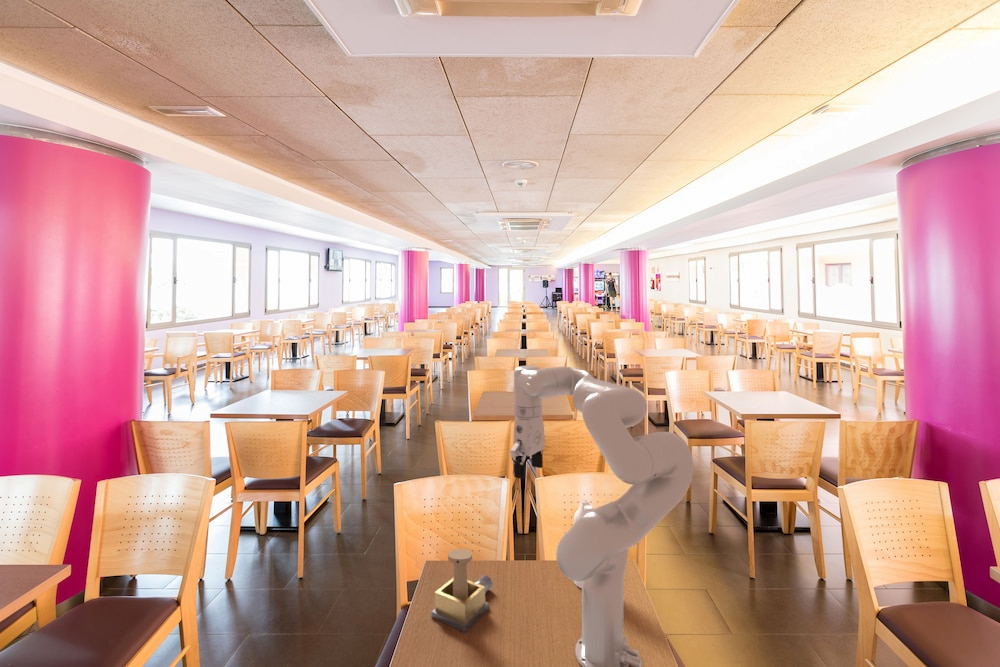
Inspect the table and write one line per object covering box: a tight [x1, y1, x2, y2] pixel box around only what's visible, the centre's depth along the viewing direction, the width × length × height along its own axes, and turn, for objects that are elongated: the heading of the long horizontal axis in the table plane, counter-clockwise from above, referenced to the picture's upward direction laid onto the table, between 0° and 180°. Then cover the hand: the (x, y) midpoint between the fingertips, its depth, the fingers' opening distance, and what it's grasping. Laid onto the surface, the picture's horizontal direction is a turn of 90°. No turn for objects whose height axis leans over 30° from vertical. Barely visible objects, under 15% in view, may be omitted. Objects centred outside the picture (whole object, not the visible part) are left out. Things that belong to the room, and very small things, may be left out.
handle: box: [447, 548, 473, 601], centre depth 126 cm, size 5×6×15 cm
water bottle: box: [573, 499, 594, 589], centre depth 138 cm, size 9×6×25 cm
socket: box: [431, 574, 493, 633], centre depth 130 cm, size 11×18×6 cm, turn 147°
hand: (528, 472), depth 130 cm, fingers open, 9 cm apart
